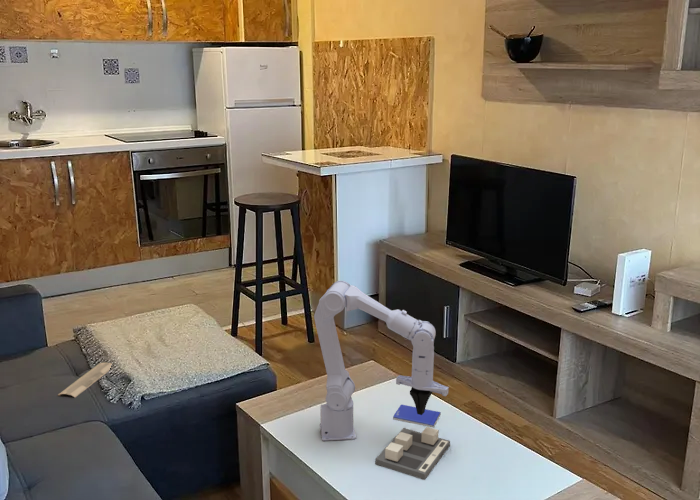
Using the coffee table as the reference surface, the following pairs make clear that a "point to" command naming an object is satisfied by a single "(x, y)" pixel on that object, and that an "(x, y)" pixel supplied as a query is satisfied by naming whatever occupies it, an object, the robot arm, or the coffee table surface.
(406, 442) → the tab
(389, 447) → the tab
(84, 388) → the tan wooden bar
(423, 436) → the tab
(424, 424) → the hard drive
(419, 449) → the switch bank
